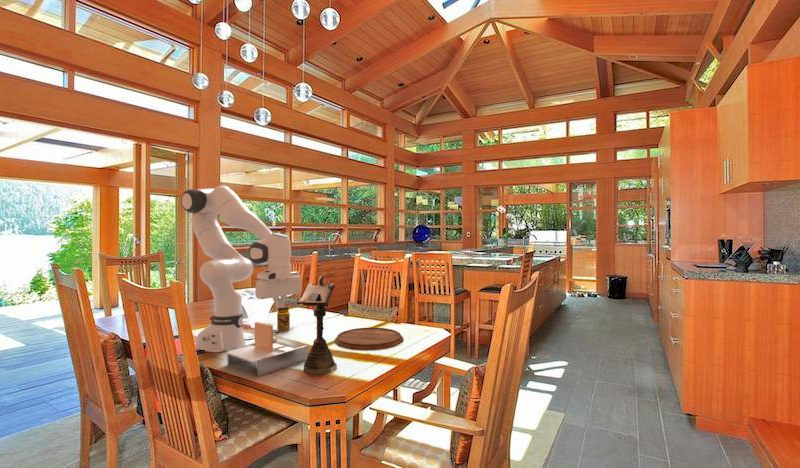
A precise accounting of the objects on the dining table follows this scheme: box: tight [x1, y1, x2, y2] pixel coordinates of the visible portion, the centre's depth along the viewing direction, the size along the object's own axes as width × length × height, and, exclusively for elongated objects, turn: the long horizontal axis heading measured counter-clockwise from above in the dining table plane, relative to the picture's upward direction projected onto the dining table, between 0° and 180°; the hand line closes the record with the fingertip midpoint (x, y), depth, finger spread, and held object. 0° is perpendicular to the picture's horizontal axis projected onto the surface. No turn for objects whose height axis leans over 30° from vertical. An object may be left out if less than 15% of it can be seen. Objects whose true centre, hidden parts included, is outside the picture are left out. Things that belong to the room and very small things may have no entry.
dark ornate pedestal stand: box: [295, 274, 338, 375], centre depth 146 cm, size 17×13×35 cm
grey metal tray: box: [226, 337, 309, 377], centre depth 156 cm, size 22×21×6 cm
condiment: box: [275, 305, 293, 333], centre depth 206 cm, size 7×8×12 cm
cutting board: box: [334, 327, 404, 351], centre depth 187 cm, size 32×32×3 cm
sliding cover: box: [225, 321, 278, 364], centre depth 151 cm, size 11×18×11 cm, turn 53°
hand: (279, 307), depth 163 cm, fingers closed
